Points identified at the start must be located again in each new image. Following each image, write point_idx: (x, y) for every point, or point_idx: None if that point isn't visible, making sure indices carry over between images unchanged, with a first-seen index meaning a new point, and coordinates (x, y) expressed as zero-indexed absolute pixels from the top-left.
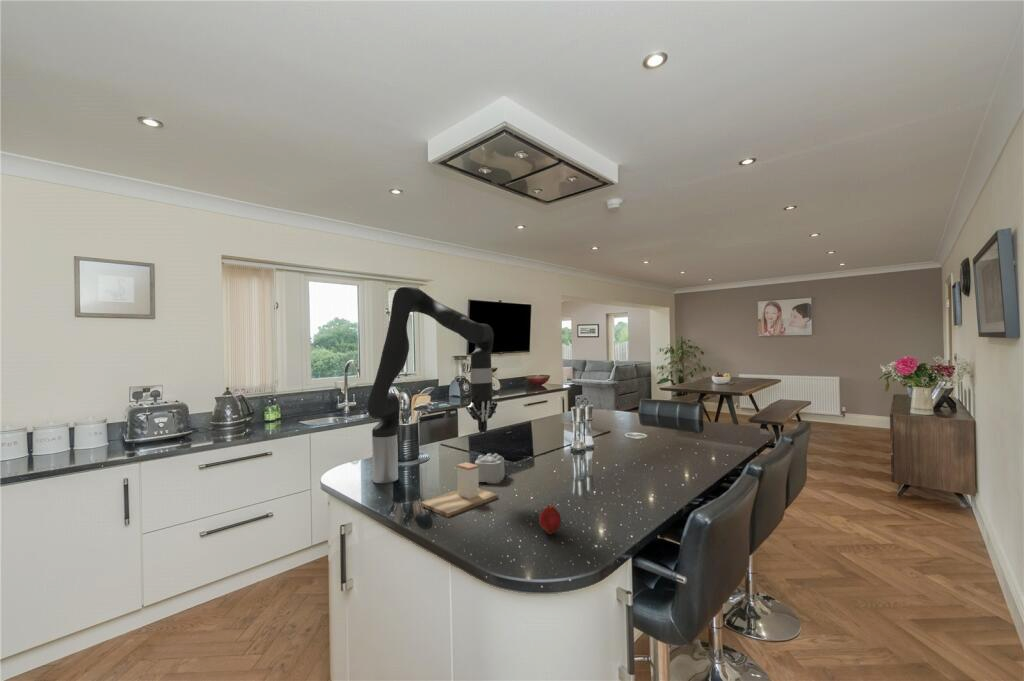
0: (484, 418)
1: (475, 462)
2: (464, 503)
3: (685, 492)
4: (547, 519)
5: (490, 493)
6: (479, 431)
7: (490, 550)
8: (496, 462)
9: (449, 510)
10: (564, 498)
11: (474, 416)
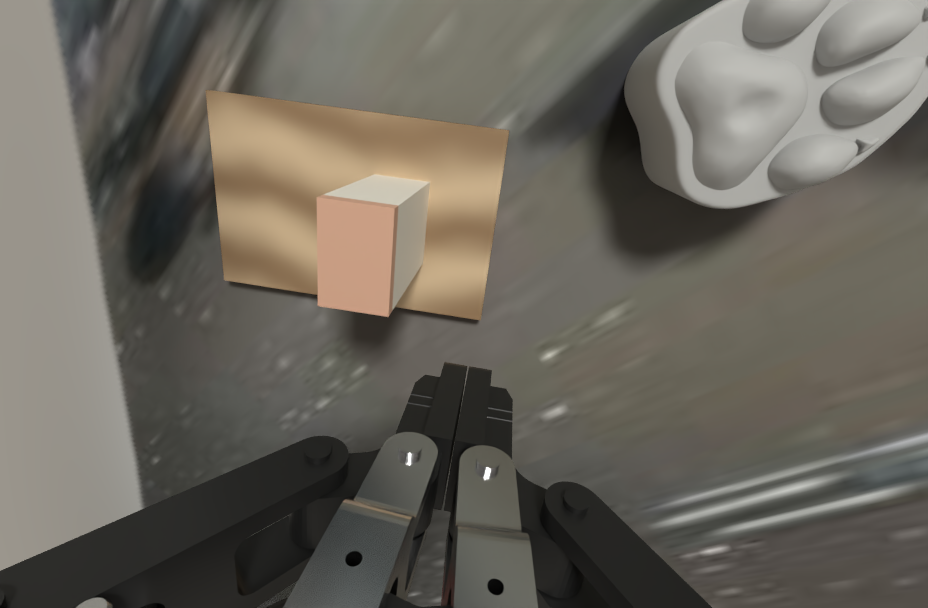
0: (447, 535)
1: (671, 43)
2: None
3: None
4: None
5: (472, 288)
6: (446, 363)
7: (198, 483)
8: (724, 190)
9: (243, 268)
10: (602, 498)
11: (290, 491)
